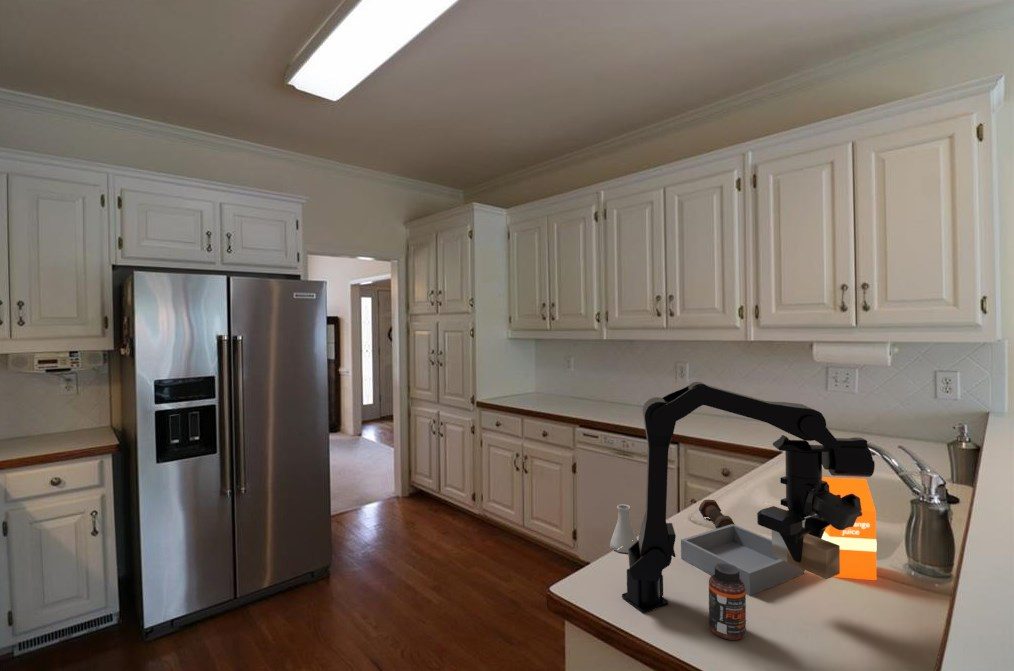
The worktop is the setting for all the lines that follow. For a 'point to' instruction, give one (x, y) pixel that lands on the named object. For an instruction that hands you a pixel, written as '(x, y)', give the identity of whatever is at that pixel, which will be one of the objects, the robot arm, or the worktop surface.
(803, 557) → the tan rectangular block
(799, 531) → the robot arm
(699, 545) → the bin
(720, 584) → the supplement bottle
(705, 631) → the worktop surface
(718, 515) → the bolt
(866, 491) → the orange juice
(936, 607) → the worktop surface
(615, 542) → the flask
